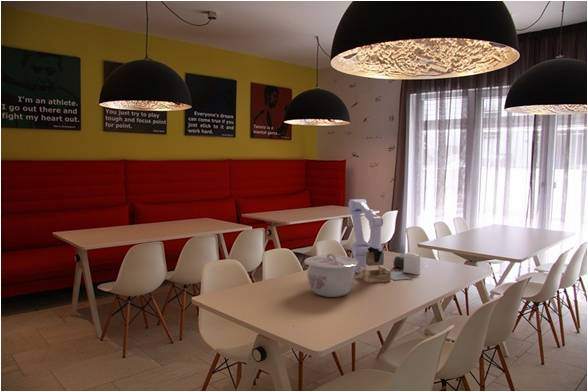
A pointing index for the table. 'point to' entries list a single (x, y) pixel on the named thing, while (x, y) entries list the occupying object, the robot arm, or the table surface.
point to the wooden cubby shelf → (375, 275)
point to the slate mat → (399, 276)
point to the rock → (399, 260)
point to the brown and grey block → (371, 261)
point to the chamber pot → (331, 274)
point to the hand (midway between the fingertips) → (374, 261)
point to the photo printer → (412, 263)
